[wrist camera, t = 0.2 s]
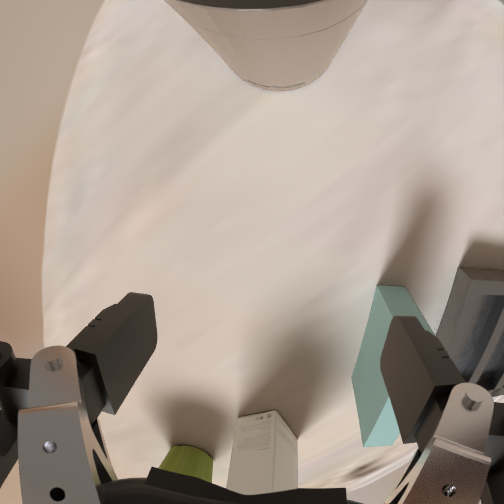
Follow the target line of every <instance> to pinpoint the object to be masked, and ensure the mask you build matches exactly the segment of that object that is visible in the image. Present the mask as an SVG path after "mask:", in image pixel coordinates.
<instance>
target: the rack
mask: <svg viewBox="0 0 504 504" xmlns="http://www.w3.org/2000/svg"><path fill="white" fill-rule="evenodd" d="M436 337H437V338H438V339H439V340H440V342H441V343H442V345H443V347H444V348H445V349H444V350H446V351H447V353H448V354H449V356H450V357H449V358H451V359H452V361H453V362H454V364H455V365H456V367H457V369H458V370H459V372H460V374H461V375H462V377H463V379H464V380H465V382H466V383H473V384H477V385H479V386H481V387H483V388H484V389H486V390H487V391H488V392H489V393H490V395H491V396H492V397H495V396H500V395H504V271H503V270H490V269H478V268H465V267H458V270H457V273H456V277H455V280H454V284H453V287H452V290H451V294H450V297H449V300H448V303H447V306H446V309H445V312H444V315H443V317H442V320H441V323H440V326H439V328H438V331H437V334H436Z"/></svg>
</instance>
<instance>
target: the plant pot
mask: <svg viewBox="0 0 504 504" xmlns="http://www.w3.org/2000/svg"><path fill="white" fill-rule="evenodd" d="M158 469H162V470H166V471H170V472H175V473H179V474H184V475H188V476H193V477H198V478H200V479H203V480H205V481H207V482H210V483H212V469H213V459H212V458H210V457H209V455H208V454H207V453H206V452H204V451H202V450H200V449H198V448H195V447H192V446H186V445H183V446H173V447H172V448H171V449H170V451H169V452H168V454H167V456H166V457H165V459H164V460H163V462H162V463H161V465H160V467H159V468H158Z"/></svg>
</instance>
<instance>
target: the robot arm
mask: <svg viewBox="0 0 504 504" xmlns="http://www.w3.org/2000/svg"><path fill="white" fill-rule="evenodd" d="M164 1H165V2H166V3H167V4H169V5H170V6H171V7H172V8H173V9H174V10H175V11H176V12H177V13H178V14H179V15H180V16H181V17H182V18H184V19H185V20H186V21H187V22H188V23H189V24H190V25H191V26H192V27H193V28H194V29H195V30H196V32H197V33H198V34H199V35H200V36H201V37H202V38H203V39H204V40H205V41H206V42H207V43H208V44H209V45H210V46H211V47H212V48H213V49H214V50H215V51H216V52H217V53H218V55H219V56H220V57H221V58H222V59H223V60H224V61H225V62H226V63H227V65H228V66H229V67H230V68H231V69H232V70H233V71H234V72H235V73H236V74H237V75H238V76H239V77H240V78H242V79H243V80H244V81H246V82H248V83H250V84H251V85H253V86H256V87H259V88H262V89H266V90H273V91H287V90H293V89H297V88H301V87H303V86H305V85H307V84H310V83H312V82H313V81H314V80H316V79H317V78H318V77H320V76H321V75H322V74H323V72H324V71H325V70H326V69H327V68H328V66H329V64H330V63H331V61H332V59H333V58H334V56H335V54H336V53H337V51H338V49H339V48H340V46H341V44H342V43H343V41H344V39H345V38H346V36H347V34H348V33H349V31H350V29H351V28H352V26H353V24H354V22H355V21H356V19H357V17H358V16H359V14H360V12H361V11H362V9H363V8H364V6H365V4H366V3H367V1H368V0H164ZM156 344H157V328H156V319H155V311H154V302H153V298H152V296H151V295H147V294H140V293H133V292H130V293H128V294H127V295H126V296H125V297H124V298H123V299H122V300H121V301H120V302H119V303H118V304H114V305H112V306H110V307H108V308H106V309H104V310H102V311H101V312H100V313H99V314H98V315H97V316H96V317H95V320H94V319H93V320H92V321H91V322H90V323H89V324H88V326H86V327H85V328H84V329H83V330H82V331H81V332H80V333H79V334H78V335H77V336H76V337H75V338H74V339H73V340H72V341H71V342H70V343H69V344H68V345H67V346H66V347H65V346H51V347H47V348H44V349H42V350H40V351H39V352H38V353H36V354H35V355H34V357H33V358H32V359H24V358H16V357H15V355H14V352H13V350H12V347H11V346H10V344H8V343H6V342H1V341H0V409H1V410H0V488H1V486H2V484H3V483H4V481H5V479H6V478H7V476H8V474H9V473H10V471H11V469H12V468H13V466H14V464H15V463H16V461H17V460H19V475H20V486H21V494H22V502H23V504H362V503H359V502H354V501H351V500H347V498H346V488H325V489H305V488H297V489H292V490H285V491H279V492H272V493H264V494H255V495H244V494H240V493H237V492H234V491H231V490H228V489H226V488H223V487H220V486H218V485H215V484H212V483H210V482H207V481H205V480H203V479H200V478H198V477H193V476H188V475H184V474H179V473H175V472H170V471H166V470H162V469H158V468H155V467H151V470H150V472H149V475H148V477H147V478H127V479H120V480H118V479H117V476H116V474H115V472H114V470H113V467H112V464H111V461H110V458H109V454H108V451H107V447H106V444H105V440H104V437H103V433H102V429H101V425H100V422H99V419H98V416H99V414H100V413H101V411H103V412H106V413H109V414H113V415H115V414H116V413H117V411H118V409H119V408H120V406H121V404H122V403H123V401H124V399H125V398H126V396H127V394H128V393H129V391H130V389H131V388H132V386H133V385H134V383H135V381H136V380H137V378H138V376H139V375H140V373H141V372H142V370H143V368H144V367H145V365H146V364H147V362H148V360H149V359H150V357H151V355H152V354H153V352H154V350H155V348H156ZM444 349H445V348H444V347H443V345H442V343H441V342H440V340H439V339H438V338H437V337H435V336H434V335H433V334H432V333H430V332H429V331H425V329H424V328H423V326H422V325H421V323H420V322H419V320H418V319H417V317H416V316H394V317H393V318H392V320H391V323H390V326H389V330H388V333H387V337H386V340H385V344H384V347H383V350H382V353H381V358H380V370H381V374H382V377H383V380H384V383H385V386H386V389H387V392H388V395H389V398H390V401H391V404H392V408H393V411H394V414H395V417H396V421H397V424H398V427H399V431H400V434H401V438H402V441H403V444H407V443H415V442H417V444H418V449H417V450H416V452H415V453H414V455H413V457H412V459H411V460H410V462H409V464H408V466H407V468H406V469H405V471H404V473H403V475H402V476H401V478H400V480H399V481H398V483H397V484H396V486H395V488H394V490H393V491H392V492H391V494H390V495H389V497H388V498H387V500H386V501H385V502H384V504H479V501H480V499H481V503H482V504H504V403H497V402H494V401H493V398H492V396H491V395H490V393H489V392H488V391H487V390H486V389H484V388H483V387H481V386H479V385H477V384H473V383H466V382H465V380H464V379H463V377H462V375H461V374H460V372H459V370H458V369H457V367H456V365H455V364H454V362H453V361H452V359H451V358H449V357H450V356H449V354H448V353H447V351H446V350H444Z"/></svg>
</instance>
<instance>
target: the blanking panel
mask: <svg viewBox="0 0 504 504" xmlns="http://www.w3.org/2000/svg"><path fill="white" fill-rule="evenodd" d="M394 316H416V317H417V319H418V320H419V322H420V323H421V325H422V326H423V328H424V329H425V331H429V332H430V333H432V334H433V335H434V336H435V334H434V333H433V331H432V329H431V328H430V326H429V324H428V323H427V321H426V319H425V318H424V316H423V315H422V313H421V311H420V310H419V308H418V307H417V305H416V303H415V302H414V300H413V299H412V297H411V296H410V294H409V293H408V291H407V289H406V288H405V287H402V286H384V285H377V286H376V291H375V295H374V299H373V303H372V307H371V311H370V315H369V319H368V323H367V327H366V331H365V334H364V338H363V341H362V345H361V348H360V352H359V355H358V359H357V362H356V365H355V368H354V372H353V375H352V383H353V388H354V394H355V399H356V405H357V411H358V417H359V423H360V429H361V436H362V442H363V447H377V446H389V445H393V444H394V442H395V440H396V439H397V437H398V436H399V434H400V431H399V427H398V424H397V421H396V417H395V414H394V411H393V408H392V404H391V401H390V398H389V395H388V392H387V389H386V386H385V383H384V380H383V377H382V374H381V370H380V358H381V353H382V350H383V347H384V344H385V340H386V337H387V333H388V330H389V326H390V323H391V320H392V318H393V317H394ZM435 337H436V336H435Z"/></svg>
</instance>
